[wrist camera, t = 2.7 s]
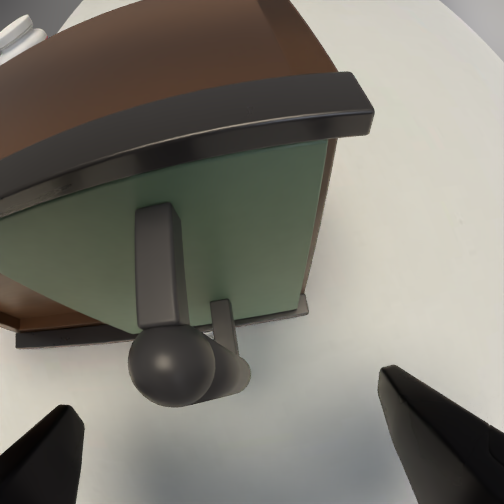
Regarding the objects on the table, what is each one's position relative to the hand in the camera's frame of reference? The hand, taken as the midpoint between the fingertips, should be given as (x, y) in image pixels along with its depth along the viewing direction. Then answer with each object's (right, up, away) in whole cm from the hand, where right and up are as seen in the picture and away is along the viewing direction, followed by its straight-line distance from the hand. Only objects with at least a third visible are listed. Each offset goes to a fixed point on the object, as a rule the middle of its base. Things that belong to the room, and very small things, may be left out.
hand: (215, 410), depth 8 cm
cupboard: (-7, +3, +12) cm, 14 cm away
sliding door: (-1, -1, +8) cm, 9 cm away
